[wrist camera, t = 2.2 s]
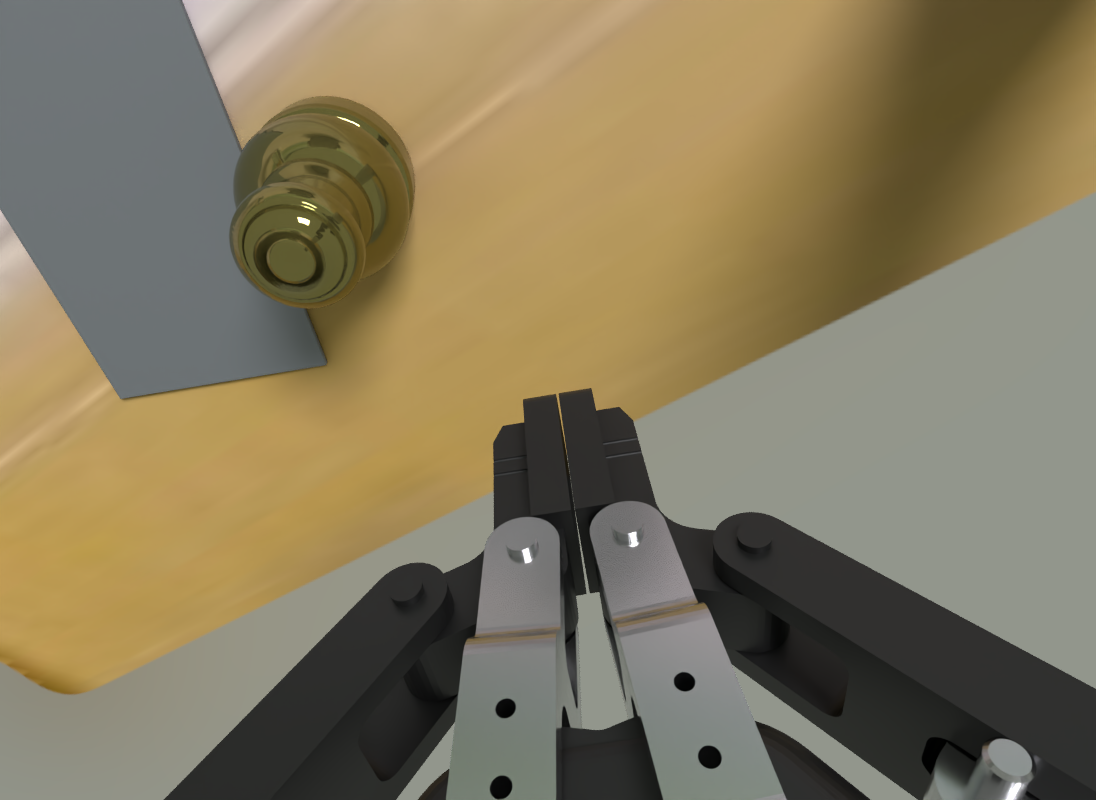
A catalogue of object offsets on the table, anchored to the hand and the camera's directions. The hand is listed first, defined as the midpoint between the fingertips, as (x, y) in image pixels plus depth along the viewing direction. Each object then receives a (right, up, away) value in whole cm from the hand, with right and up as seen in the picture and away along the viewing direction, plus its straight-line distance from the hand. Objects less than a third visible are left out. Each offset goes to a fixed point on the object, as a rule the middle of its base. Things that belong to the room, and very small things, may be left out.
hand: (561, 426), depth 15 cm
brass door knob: (-10, +11, +18) cm, 24 cm away
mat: (-20, +10, +19) cm, 29 cm away
